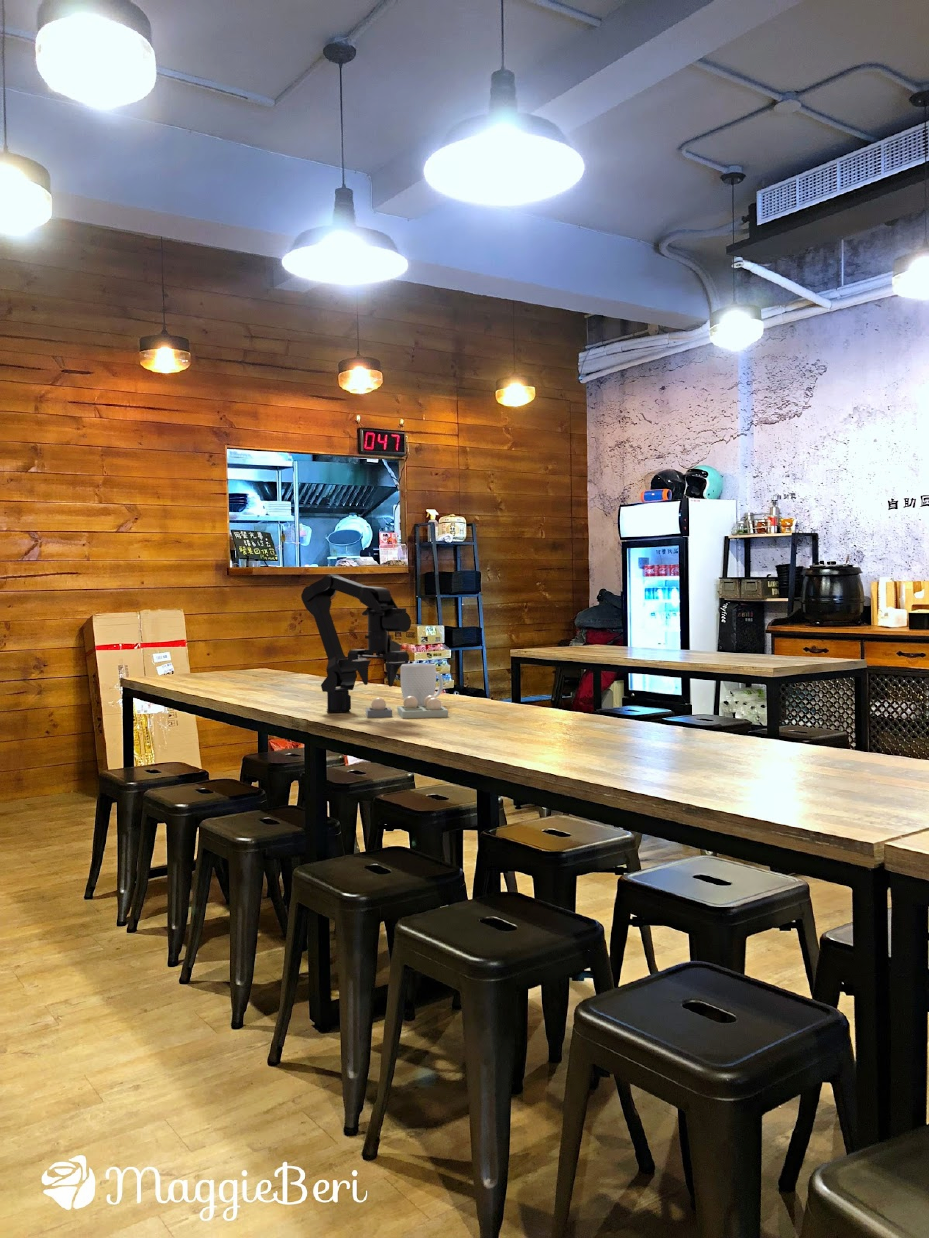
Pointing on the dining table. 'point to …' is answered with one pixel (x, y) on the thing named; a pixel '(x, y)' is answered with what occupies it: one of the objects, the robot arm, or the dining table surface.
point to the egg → (378, 704)
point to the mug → (420, 681)
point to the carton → (422, 708)
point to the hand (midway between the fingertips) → (378, 685)
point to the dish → (379, 712)
